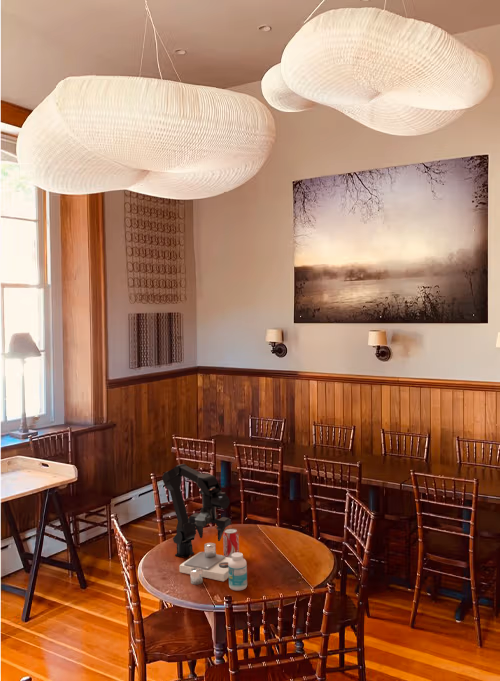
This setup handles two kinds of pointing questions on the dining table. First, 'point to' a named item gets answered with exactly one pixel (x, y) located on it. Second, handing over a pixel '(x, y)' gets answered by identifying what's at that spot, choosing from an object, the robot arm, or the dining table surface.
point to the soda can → (230, 542)
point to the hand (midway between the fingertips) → (210, 539)
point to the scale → (208, 566)
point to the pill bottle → (237, 572)
